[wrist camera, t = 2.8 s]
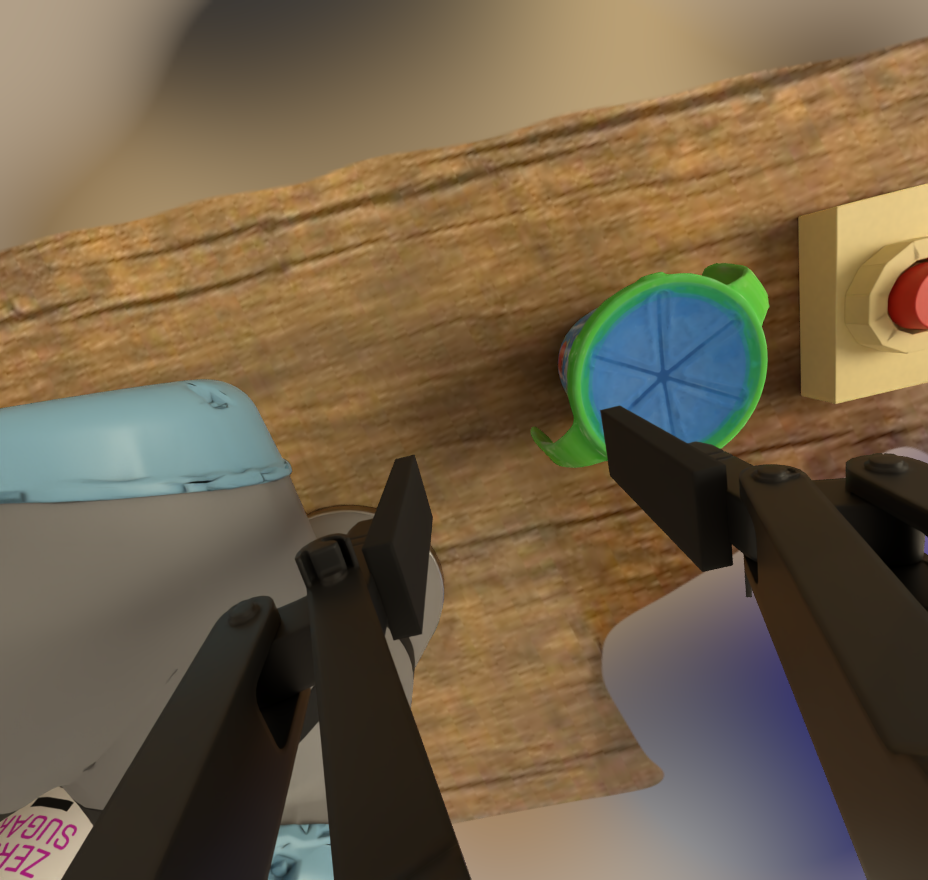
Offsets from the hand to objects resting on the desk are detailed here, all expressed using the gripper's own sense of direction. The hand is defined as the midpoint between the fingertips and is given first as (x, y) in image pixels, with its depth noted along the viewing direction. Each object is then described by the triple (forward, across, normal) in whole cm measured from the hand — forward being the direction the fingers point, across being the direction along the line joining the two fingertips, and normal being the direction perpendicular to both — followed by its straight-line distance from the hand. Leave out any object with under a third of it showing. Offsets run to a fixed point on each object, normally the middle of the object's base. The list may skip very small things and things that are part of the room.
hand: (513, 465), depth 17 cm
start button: (+12, +28, 0) cm, 31 cm away
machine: (+17, +28, 0) cm, 33 cm away
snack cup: (+17, +10, 0) cm, 20 cm away
